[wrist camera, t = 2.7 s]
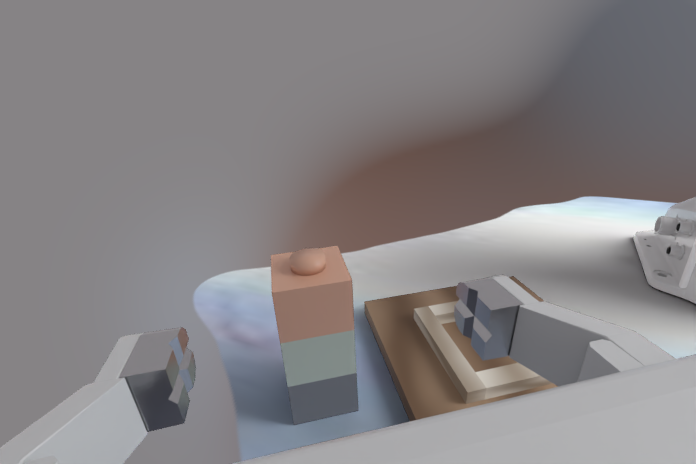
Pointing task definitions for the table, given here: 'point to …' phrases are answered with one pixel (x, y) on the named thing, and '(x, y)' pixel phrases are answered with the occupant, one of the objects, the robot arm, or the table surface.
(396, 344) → the socket board
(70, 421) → the robot arm
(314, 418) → the brick tower
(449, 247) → the table surface
